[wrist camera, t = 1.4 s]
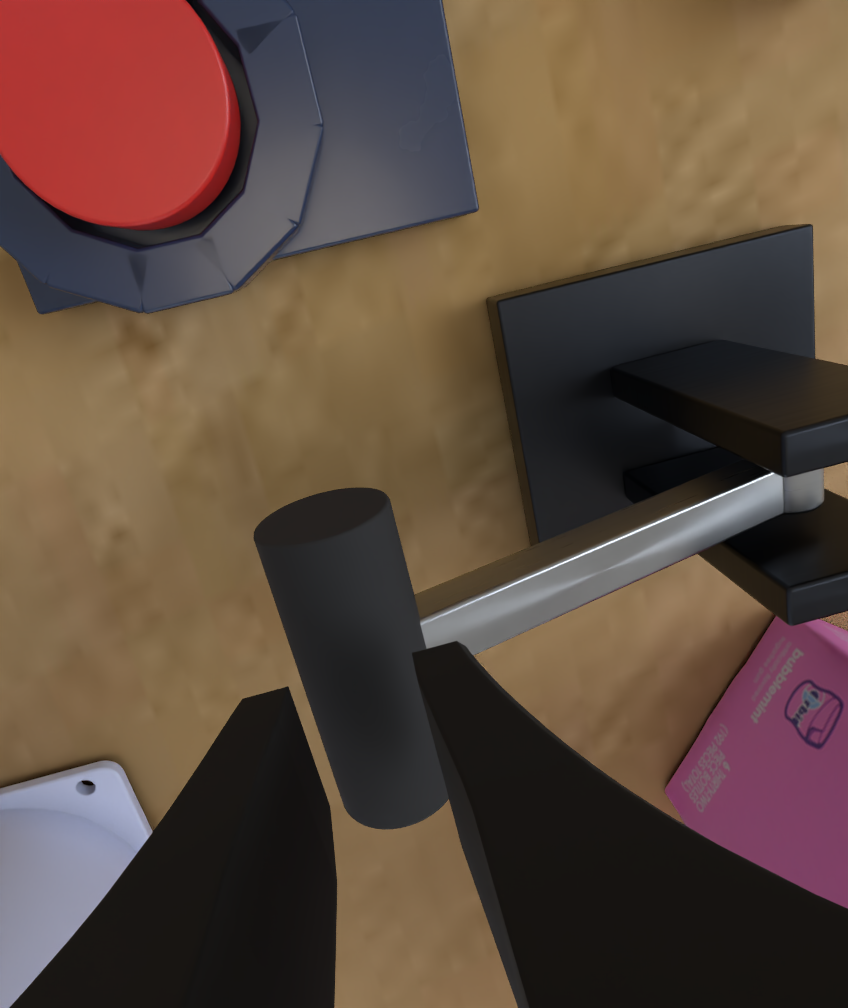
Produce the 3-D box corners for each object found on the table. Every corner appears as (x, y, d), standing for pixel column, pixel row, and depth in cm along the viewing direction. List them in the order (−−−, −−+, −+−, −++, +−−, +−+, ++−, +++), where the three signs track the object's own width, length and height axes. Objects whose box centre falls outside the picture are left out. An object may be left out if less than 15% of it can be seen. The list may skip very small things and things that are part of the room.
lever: (328, 774, 12) (365, 852, 11) (241, 518, 11) (267, 561, 9) (773, 561, 16) (858, 593, 14) (763, 337, 14) (858, 342, 12)
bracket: (535, 576, 20) (665, 766, 13) (484, 298, 18) (612, 329, 10) (792, 507, 21) (1066, 652, 13) (783, 224, 18) (1123, 202, 10)
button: (67, 251, 14) (32, 250, 12) (-24, 14, 12) (-76, -23, 11) (267, 204, 14) (260, 198, 12) (201, -34, 12) (184, -77, 11)
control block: (64, 330, 17) (12, 346, 14) (-73, -12, 14) (-169, -79, 11) (473, 233, 17) (503, 228, 14) (409, -113, 15) (431, -200, 12)
